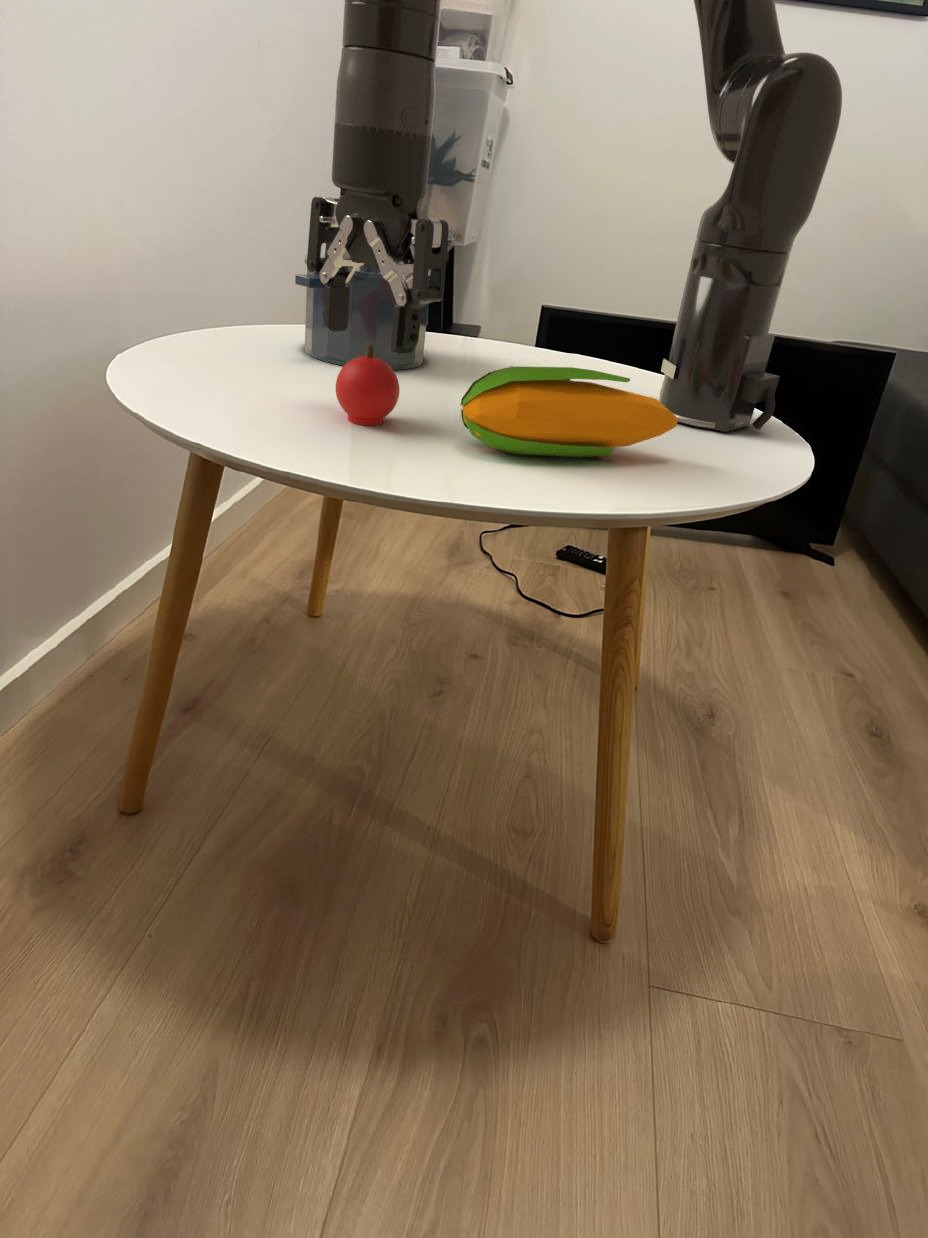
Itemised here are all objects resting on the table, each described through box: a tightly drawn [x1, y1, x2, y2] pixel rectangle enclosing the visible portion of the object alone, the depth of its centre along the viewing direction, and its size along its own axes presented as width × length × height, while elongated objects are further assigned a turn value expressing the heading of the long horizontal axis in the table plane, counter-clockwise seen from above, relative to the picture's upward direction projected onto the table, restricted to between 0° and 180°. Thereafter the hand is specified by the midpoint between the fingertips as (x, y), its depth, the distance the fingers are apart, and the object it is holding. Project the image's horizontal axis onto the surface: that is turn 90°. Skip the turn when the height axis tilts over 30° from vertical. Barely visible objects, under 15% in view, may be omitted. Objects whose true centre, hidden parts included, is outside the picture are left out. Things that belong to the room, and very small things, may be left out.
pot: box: [294, 267, 430, 371], centre depth 98 cm, size 14×19×10 cm
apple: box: [335, 344, 400, 426], centre depth 75 cm, size 6×6×7 cm
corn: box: [459, 365, 679, 458], centre depth 73 cm, size 7×8×20 cm
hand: (367, 340), depth 73 cm, fingers open, 8 cm apart
